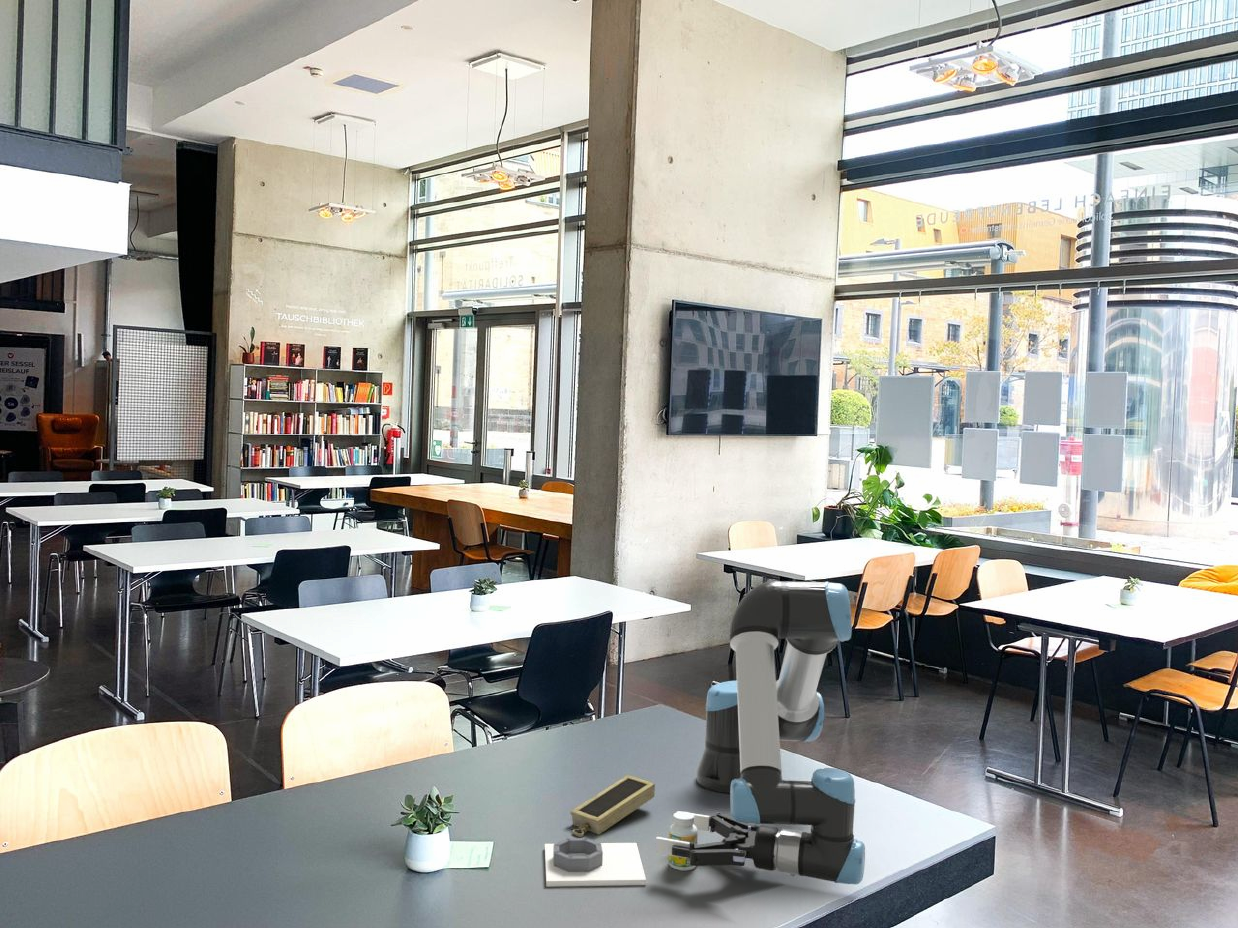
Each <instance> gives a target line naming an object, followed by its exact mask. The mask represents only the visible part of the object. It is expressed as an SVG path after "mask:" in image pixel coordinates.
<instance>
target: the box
mask: <svg viewBox="0 0 1238 928" xmlns="http://www.w3.org/2000/svg"><path fill="white" fill-rule="evenodd" d="M655 791H656V784H655V782H654V783H653V782H652V781H648V780H645V779H641V778H638V777H635V776H631V775H629V774H627V775H626V776H625V775H624V777H622V778H620V779H619V780H618V781H616V782H615V783H613V784H611V785H609V787H607V788H605V789H604V790H602V791H600V792H599V793H597V794H596V795H594V796H592V797H591V798H589V799H588V800H586V801H584V802H583V803H581V804H580V805H578V806H577V807H575V808H574V809H572V810H571V811H570V815H571V818H572V819H571V822H572V825H573V826H575V827H578V828H576V829H573V830H572V835H574V836H576V837H577V838H582V837H584V836H585V834H586V833H587V832H591V833H594V834H597V835H601V834H603V832H606V831H607V830H609V828H611V827H612V826H614V825H615V824H617V823H618V822H619V821H621V820H622V819H624V818H625V817H627V816H628V815H630V814H631V813H633V812H634V811H636V810H637V809H639V808H640V807H642V806H644V804H646V803H647V802H649V801H650V800H652V799H653V798H654V797H655Z"/></svg>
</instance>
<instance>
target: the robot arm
mask: <svg viewBox="0 0 1238 928" xmlns="http://www.w3.org/2000/svg"><path fill="white" fill-rule="evenodd" d="M848 591H849V590H848V589H847V587H846V586H845V585H844V584H843V583H838V582H830V581H822V582H821V581H785V580H784V581H780V580H769V581H765V582H762V583H760V584H758V585H756V586H754V587H753V588H752V589H750V590H749V591H748V592H747V593H746V594H745V595H744V596H743V597H742V598H741V600H740V601H739V602H738V603H739V604H738V605H737V607H736V609H735V611H734V613H733V615H732V618H731V622H730V628H729V646H730V648H731V649H732V650H733V651H734V652H735V670H736V671H735V673H736V674H735V675H736V680H728V681H723V682H718V683H715V684H714V685H711V687H710V688H709V690H708V691H707V694H706V704H705V710H706V713H705V714H706V717H705V742H704V743H705V744H704V750H703V753H702V756H701V758H700V761H699V764H698V767H697V769H696V782H697V784H698V785H700V786H701V787H703V788H705V789H707V790H711V791H715V792H719V793H726V794H727V793H728V794H729V795H730V797H729V803H730V804H729V807H730V809H729V810H730V815H728V814H726V813H723V812H720V811H718V812H716V813H715V814H712V815H705V814H701V813H699V814H698V813H692V812H691V813H692V814H693V815H694V825H695V826H696V827H697V830H698V831H699V830H700V831H706V832H710V833H715V832H716V833H717V834H718V835H720V836H722V837H723V839H722V841H716V842H706V843H699V844H698V843H697V845H694V843H693V842H692V841H691V842H685V841H679V840H674V839H669V837H668V838H666V837H661V836H656V838H655V853H656V854H659V855H660V854H662V855H666V856H669V855H671V856H677V857H683V858H688V859H689V860H690V865H691V866H696V867H699V866H700V867H703V866H704V867H705V866H709V867H711V866H737V867H745V864H746V861H745V860H746V859H751V860H752V861H753V865H754V867H755V868H756V869H760V870H764V871H765V870H766V871H771V872H774V871H776V869H777V871H778V872H779V873H783V874H789V875H790V876H791V877H795V876H799V877H800V876H801V877H808V878H812V879H813V878H814V879H818V880H823V881H828V882H834V883H835V884H844V885H859V884H860V883H861V882H862V881H863V878H864V873H865V863H866V846H865V842H863V841H861V840H857V839H855V835H854V821H855V806H856V805H855V804H856V798H855V793H856V792H855V779H854V777H853V776H852V774H850V773H849V772H847V771H846V770H843V769H839V768H835V767H834V768H833V767H825V768H817V769H816V770H814V771H813V773H812V776H811V780H810V781H807V780H786V779H785V780H784V779H783V775H782V770H783V769H782V759H781V758H782V757H781V742H780V741H783V742H784V741H787V742H788V741H789V742H798V743H805V742H813V741H816V740H817V739H818V738H819V737H820V735H821V733H822V730H823V727H824V726H823V725H824V724H823V721H824V720H825V705H824V700H823V696H822V694H821V693H820V692H818V691H817V690H818V689H817V688H818V685H819V681H820V678H821V675H822V671H823V668H824V664H825V661H826V659H827V654H828V653H831V651H833V649H835V648H836V647H837V645H838V643H839V642H841V643H842V642H845V641H849V640H851V639H852V630H853V626H852V624H853V623H852V610H851V602H850V601H851V600H850V596H849V595H850V594H849V592H848ZM779 639H783V640H786V642H787V644H786V646H785V651H784V652H785V653H784V655H783V656H784V657H783V659H782V664H781V668H780V673H779V677H778V680H777V679H776V666H775V664H776V663H775V650H776V649H777V648H778V647H779ZM676 812H682V811H680V810H677V811H676ZM761 824H762V825H761ZM763 824H765V825H763ZM768 824H769V825H771V824H772V825H778V824H779V825H792V826H794V825H795V826H797V825H798V826H810V832H807V831H801V830H797V829H789V828H781V830H780V829H778V827H775V826H774V827H773V826H768Z"/></svg>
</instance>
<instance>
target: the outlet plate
mask: <svg viewBox="0 0 1238 928" xmlns="http://www.w3.org/2000/svg"><path fill="white" fill-rule="evenodd" d="M544 861H545V863H544V864H545V885H546V887H548V888H549V887H598V886H599V887H601V886H603V887H604V886H605V887H606V886H607V887H608V886H612V887H613V886H646V885H647V877H646V875H645V874H646V873H645V870H644V866H643V862H642V860H641V855H640V852H639V847H638V845H637V842H604V843H603V842H597V841H596V840H593V839H590V838H587V837H583V838H582V837H576V838H575V837H574V838H573V837H572V838H571V837H570V838H565V839H563V840H560V841H558V842H555V843H544Z"/></svg>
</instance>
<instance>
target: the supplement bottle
mask: <svg viewBox="0 0 1238 928" xmlns="http://www.w3.org/2000/svg"><path fill="white" fill-rule="evenodd" d="M672 822H673V824H671V826H670V827H669V831H668V832H669V834H668V836H669V837H668V839H674V840H679V841H685V842H691V841H692V842H693V843H694V845H698V840H699V839H698V834H699V833H698V831H699V829H697V827H696V826H695V825H694V815H693V814H692V812H689V811H681V812H677V811H676V812H675V813H673V815H672ZM668 865H669V866H670V867H671V868H673V869H674V870H677V871H685V872H686V871H692V870H693V869H695V868H696V867H697V866H691V865H690V860H689V859H688V858H683V857H677V856H671V855H668Z"/></svg>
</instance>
